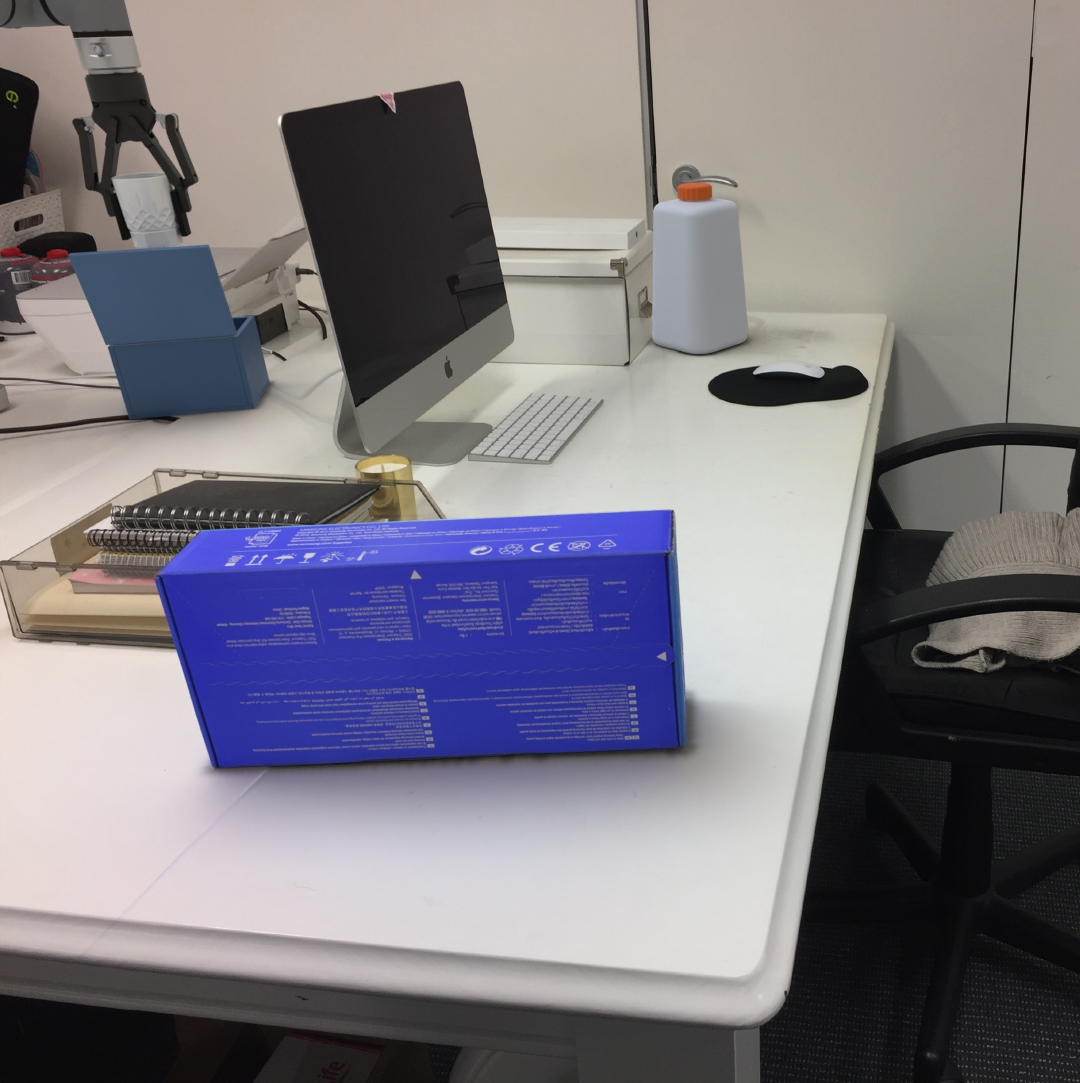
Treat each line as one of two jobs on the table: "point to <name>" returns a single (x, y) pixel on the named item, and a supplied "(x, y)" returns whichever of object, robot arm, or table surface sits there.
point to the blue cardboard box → (431, 637)
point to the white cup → (148, 209)
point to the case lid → (154, 294)
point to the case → (192, 373)
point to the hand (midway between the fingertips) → (157, 236)
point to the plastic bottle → (697, 273)
